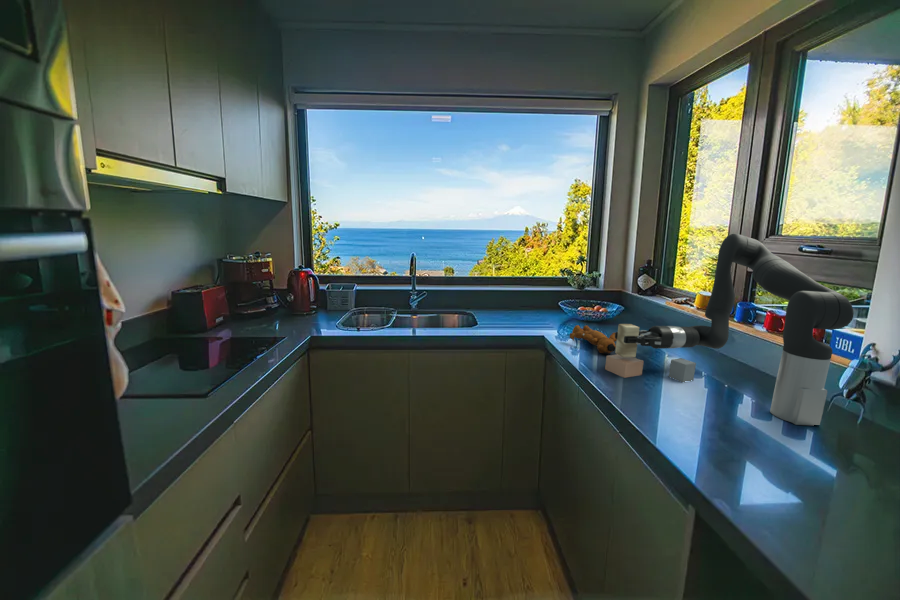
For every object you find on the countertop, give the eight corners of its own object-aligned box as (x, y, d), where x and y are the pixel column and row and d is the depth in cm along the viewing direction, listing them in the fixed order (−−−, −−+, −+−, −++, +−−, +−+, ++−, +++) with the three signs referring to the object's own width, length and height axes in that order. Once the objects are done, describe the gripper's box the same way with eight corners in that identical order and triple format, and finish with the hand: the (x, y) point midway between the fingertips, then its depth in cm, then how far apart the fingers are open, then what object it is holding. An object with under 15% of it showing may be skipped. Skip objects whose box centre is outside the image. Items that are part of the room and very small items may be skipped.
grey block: (693, 380, 127) (696, 363, 126) (682, 382, 125) (685, 364, 124) (678, 375, 131) (681, 358, 130) (668, 377, 129) (671, 359, 128)
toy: (558, 338, 176) (585, 357, 146) (559, 322, 175) (587, 338, 145) (601, 339, 177) (637, 358, 147) (603, 324, 176) (639, 340, 147)
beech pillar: (635, 357, 129) (639, 327, 127) (623, 357, 128) (626, 327, 126) (627, 352, 133) (631, 324, 132) (615, 352, 133) (618, 324, 131)
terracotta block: (641, 375, 130) (643, 361, 129) (624, 378, 127) (626, 363, 126) (621, 367, 137) (623, 353, 136) (604, 369, 134) (606, 355, 133)
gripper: (653, 321, 138) (609, 321, 135) (683, 331, 125) (634, 332, 122) (650, 341, 140) (606, 342, 137) (680, 354, 126) (631, 355, 123)
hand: (620, 337), depth 129 cm, fingers closed on beech pillar, 4 cm apart
